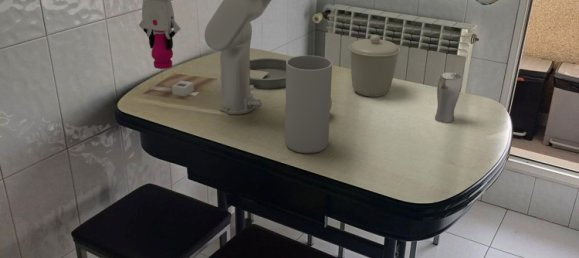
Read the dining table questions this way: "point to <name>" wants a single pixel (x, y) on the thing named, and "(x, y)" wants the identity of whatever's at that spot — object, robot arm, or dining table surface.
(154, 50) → the pepper mill
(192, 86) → the block
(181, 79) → the brown flat board
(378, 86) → the canister
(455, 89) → the beer glass
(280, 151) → the dining table surface
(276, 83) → the cake pan
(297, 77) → the cylinder vase
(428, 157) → the dining table surface
